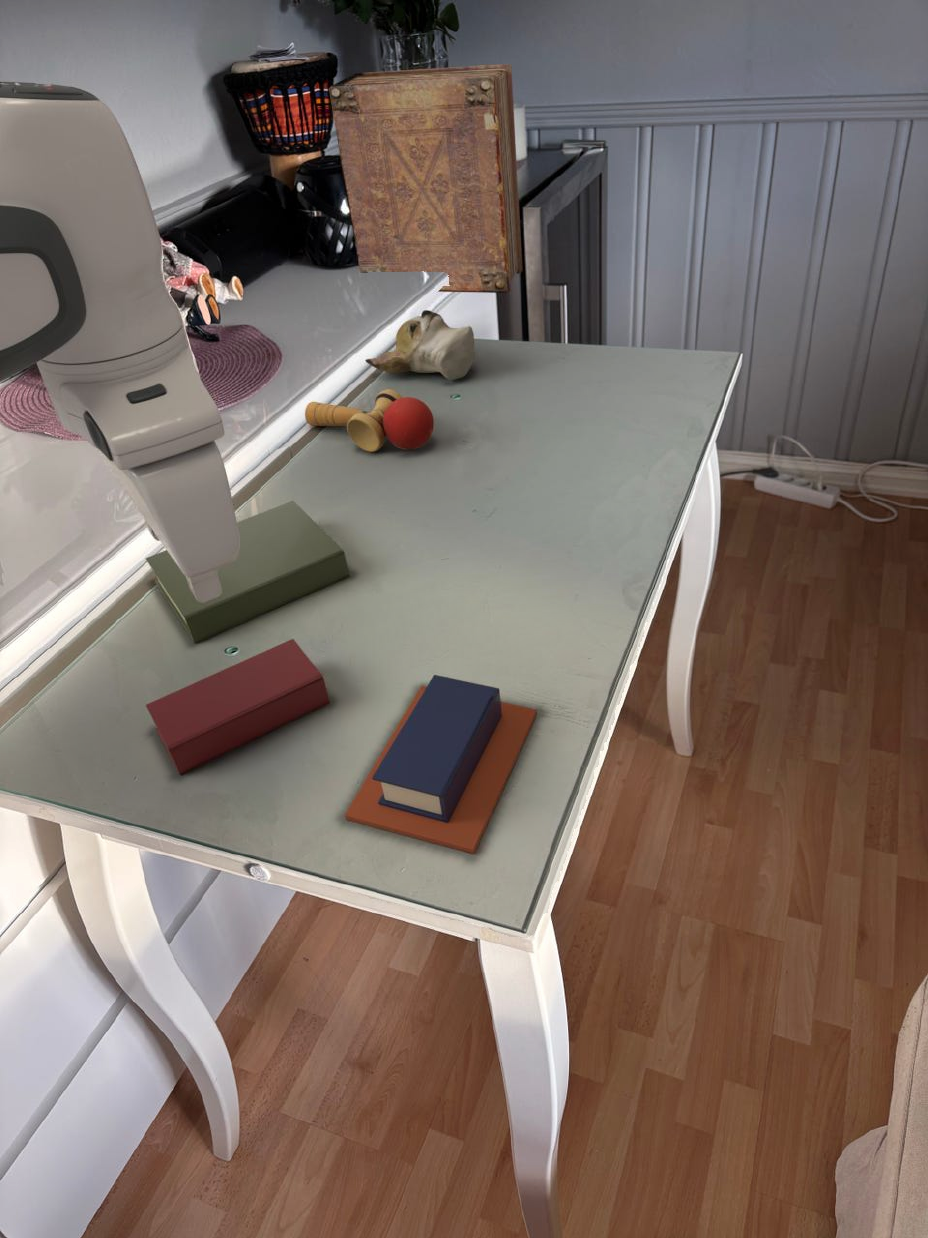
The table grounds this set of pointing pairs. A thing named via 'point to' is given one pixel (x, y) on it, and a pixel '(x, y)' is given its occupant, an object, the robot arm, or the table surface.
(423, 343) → the ceramic sculpture
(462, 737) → the navy book
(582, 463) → the table surface
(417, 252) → the book
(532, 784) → the table surface
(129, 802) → the table surface
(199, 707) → the burgundy book
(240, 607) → the olive book
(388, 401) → the kendama
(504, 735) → the rubber mat
